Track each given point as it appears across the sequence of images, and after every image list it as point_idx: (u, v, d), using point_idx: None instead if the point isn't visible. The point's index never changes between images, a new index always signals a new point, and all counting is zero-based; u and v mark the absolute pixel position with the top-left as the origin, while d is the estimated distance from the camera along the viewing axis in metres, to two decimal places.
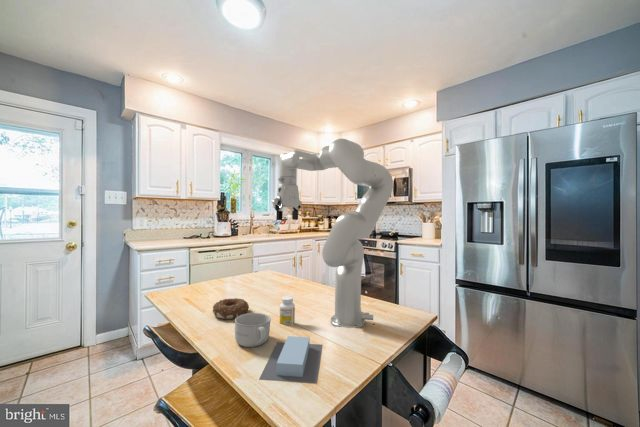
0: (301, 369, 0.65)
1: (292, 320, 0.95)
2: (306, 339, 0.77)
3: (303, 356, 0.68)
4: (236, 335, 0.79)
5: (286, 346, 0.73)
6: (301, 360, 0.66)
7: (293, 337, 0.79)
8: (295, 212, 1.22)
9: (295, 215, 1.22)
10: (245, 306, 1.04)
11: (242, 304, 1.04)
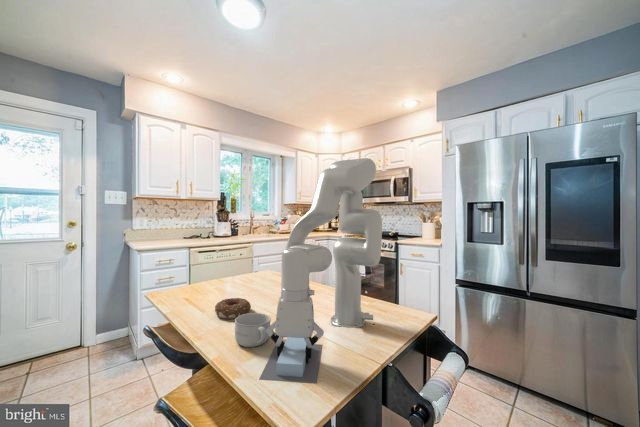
0: (301, 369, 0.65)
1: None
2: None
3: (303, 356, 0.68)
4: (236, 335, 0.79)
5: (285, 346, 0.73)
6: (301, 360, 0.66)
7: None
8: (283, 345, 0.73)
9: None
10: (247, 306, 1.04)
11: (244, 304, 1.04)
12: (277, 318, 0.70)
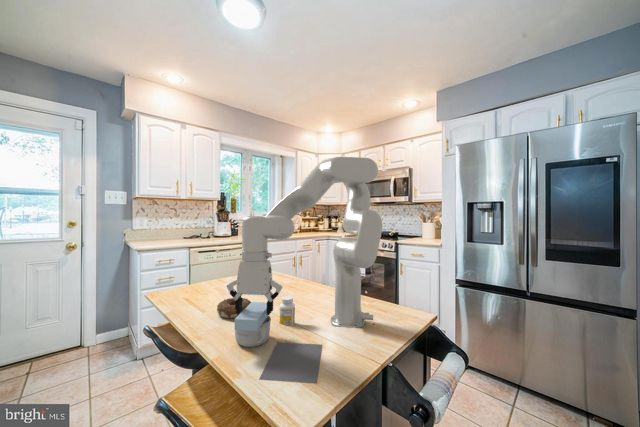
0: (256, 324, 0.74)
1: (292, 320, 0.95)
2: None
3: (260, 315, 0.77)
4: (236, 335, 0.79)
5: (247, 308, 0.82)
6: (257, 317, 0.75)
7: (256, 302, 0.88)
8: (241, 300, 0.82)
9: (241, 304, 0.82)
10: None
11: (246, 303, 1.05)
12: (238, 277, 0.79)
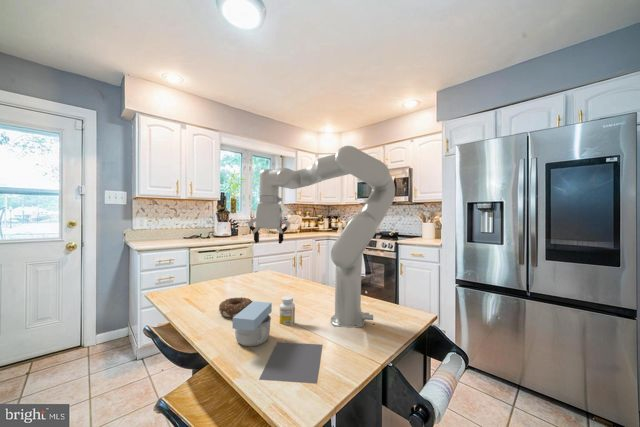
0: (253, 324, 0.74)
1: (292, 320, 0.95)
2: (268, 304, 0.86)
3: (258, 314, 0.78)
4: (236, 334, 0.79)
5: (247, 307, 0.83)
6: (255, 317, 0.76)
7: None
8: (258, 234, 1.08)
9: (258, 237, 1.08)
10: None
11: (248, 303, 1.05)
12: (256, 215, 1.05)
